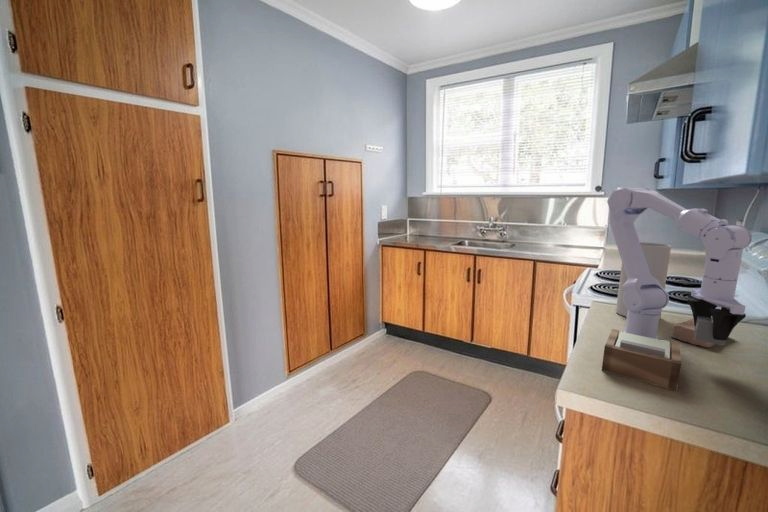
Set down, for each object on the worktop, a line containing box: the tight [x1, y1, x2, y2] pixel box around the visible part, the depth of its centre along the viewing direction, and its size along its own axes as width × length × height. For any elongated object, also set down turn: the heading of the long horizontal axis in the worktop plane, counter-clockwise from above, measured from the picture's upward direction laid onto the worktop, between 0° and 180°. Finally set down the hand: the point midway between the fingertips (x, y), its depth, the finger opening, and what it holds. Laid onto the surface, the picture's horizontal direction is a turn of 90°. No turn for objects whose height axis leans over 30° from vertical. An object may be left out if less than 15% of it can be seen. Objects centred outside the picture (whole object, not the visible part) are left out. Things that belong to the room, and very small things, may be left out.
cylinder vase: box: [615, 241, 672, 320], centre depth 117 cm, size 12×12×25 cm
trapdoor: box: [615, 331, 671, 359], centre depth 81 cm, size 12×10×2 cm
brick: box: [671, 318, 716, 348], centre depth 100 cm, size 16×8×5 cm, turn 121°
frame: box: [601, 328, 682, 392], centre depth 81 cm, size 14×14×6 cm
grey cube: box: [694, 316, 727, 346], centre depth 81 cm, size 4×5×5 cm
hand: (709, 334), depth 81 cm, fingers closed on grey cube, 6 cm apart
